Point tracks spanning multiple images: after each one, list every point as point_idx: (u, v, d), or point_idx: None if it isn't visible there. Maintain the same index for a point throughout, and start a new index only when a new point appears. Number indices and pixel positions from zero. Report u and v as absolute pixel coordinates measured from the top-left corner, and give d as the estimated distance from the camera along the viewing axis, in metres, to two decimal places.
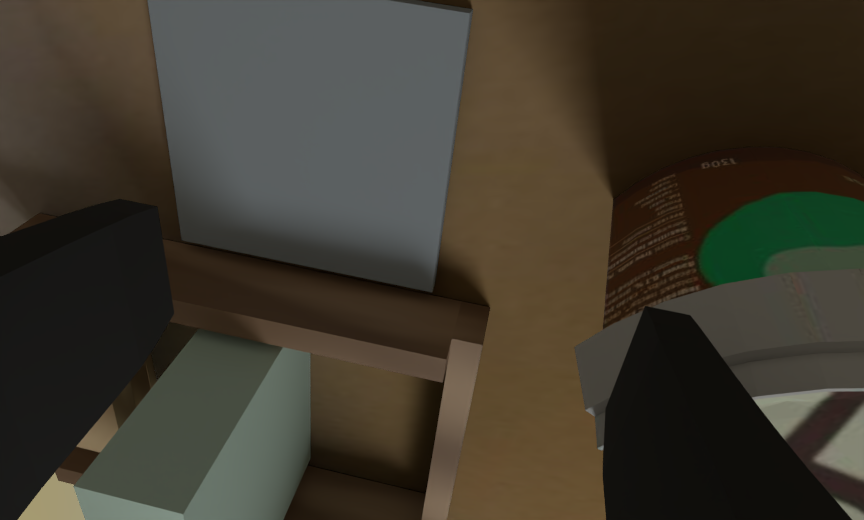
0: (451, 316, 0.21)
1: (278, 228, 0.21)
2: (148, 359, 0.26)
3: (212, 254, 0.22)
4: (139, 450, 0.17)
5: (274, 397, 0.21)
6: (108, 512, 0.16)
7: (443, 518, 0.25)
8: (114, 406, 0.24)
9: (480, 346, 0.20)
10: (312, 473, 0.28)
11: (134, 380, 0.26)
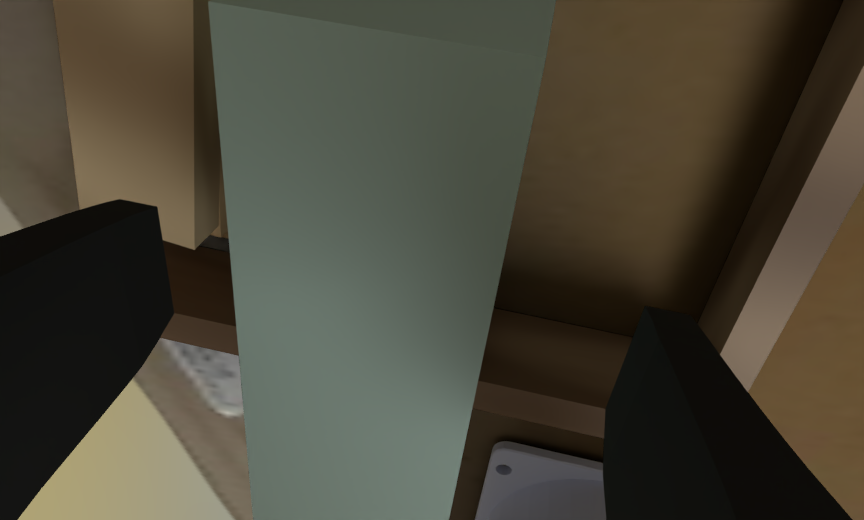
0: None
1: None
2: None
3: None
4: None
5: None
6: (296, 105, 0.06)
7: (757, 363, 0.15)
8: (196, 132, 0.14)
9: None
10: (497, 316, 0.18)
11: None
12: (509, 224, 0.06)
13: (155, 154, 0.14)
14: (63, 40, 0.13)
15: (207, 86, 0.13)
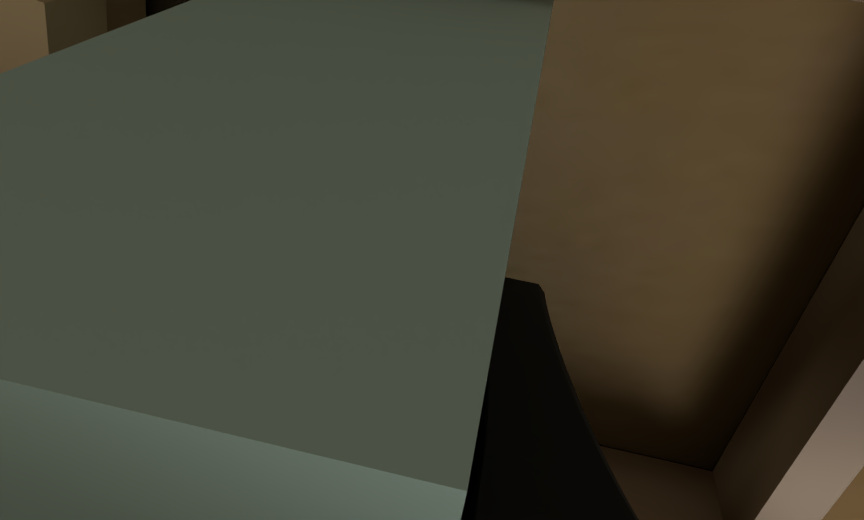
0: None
1: None
2: None
3: None
4: (87, 139, 0.03)
5: None
6: None
7: None
8: None
9: None
10: None
11: None
12: None
13: None
14: None
15: None
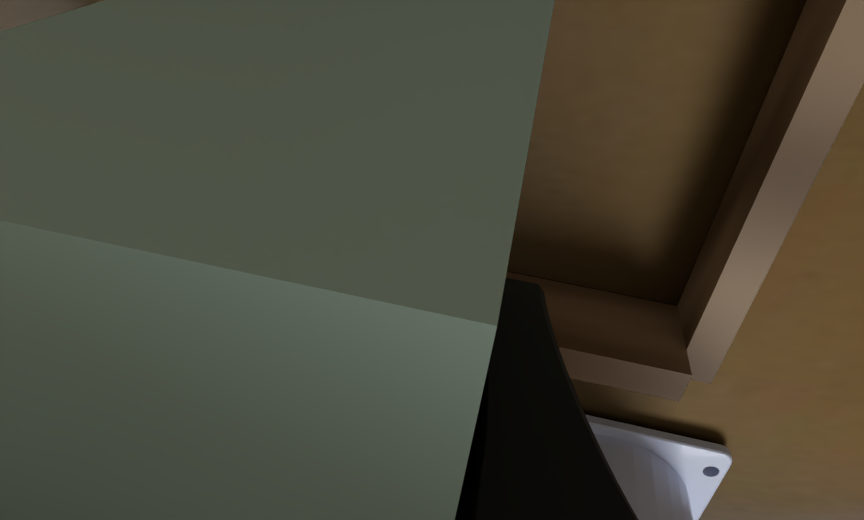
0: None
1: None
2: None
3: None
4: (130, 71, 0.03)
5: None
6: None
7: (740, 313, 0.16)
8: None
9: None
10: None
11: None
12: None
13: None
14: None
15: None
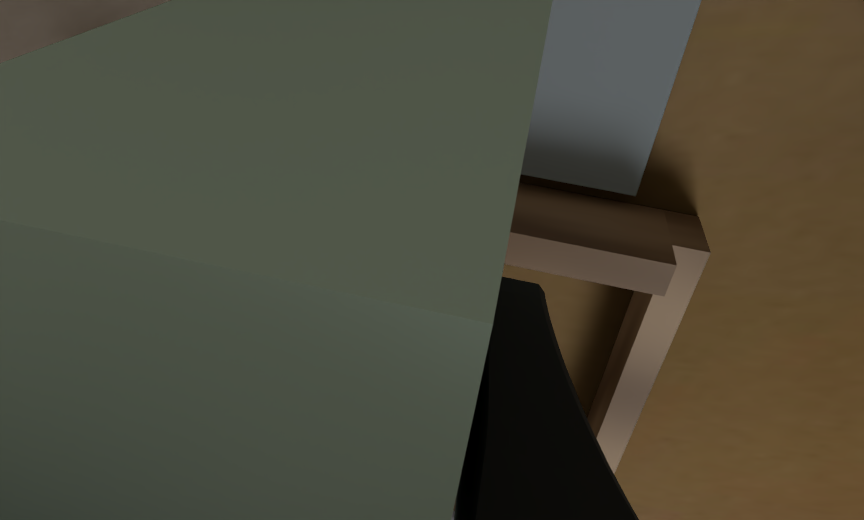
0: (660, 223, 0.18)
1: None
2: None
3: None
4: (157, 88, 0.04)
5: None
6: None
7: None
8: None
9: (707, 254, 0.17)
10: None
11: None
12: None
13: None
14: None
15: None
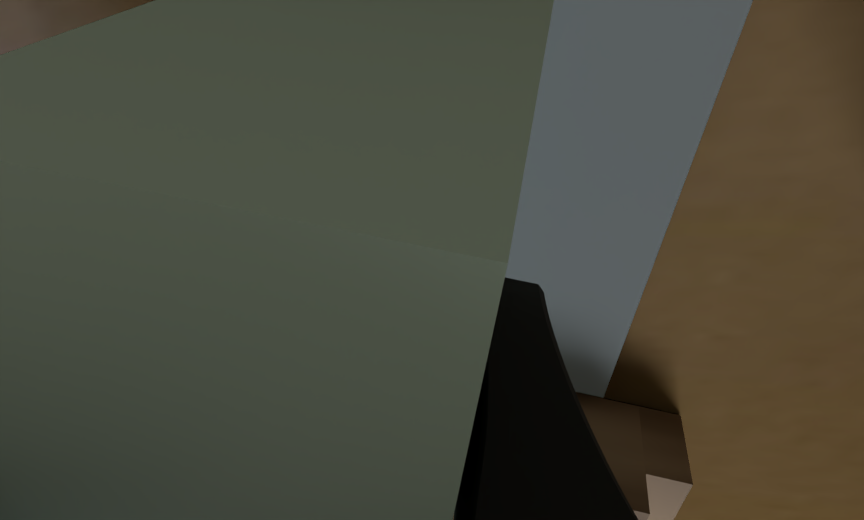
0: (632, 433, 0.14)
1: None
2: None
3: None
4: (187, 64, 0.04)
5: None
6: (30, 310, 0.03)
7: None
8: None
9: (688, 486, 0.13)
10: None
11: None
12: (450, 519, 0.03)
13: None
14: None
15: None
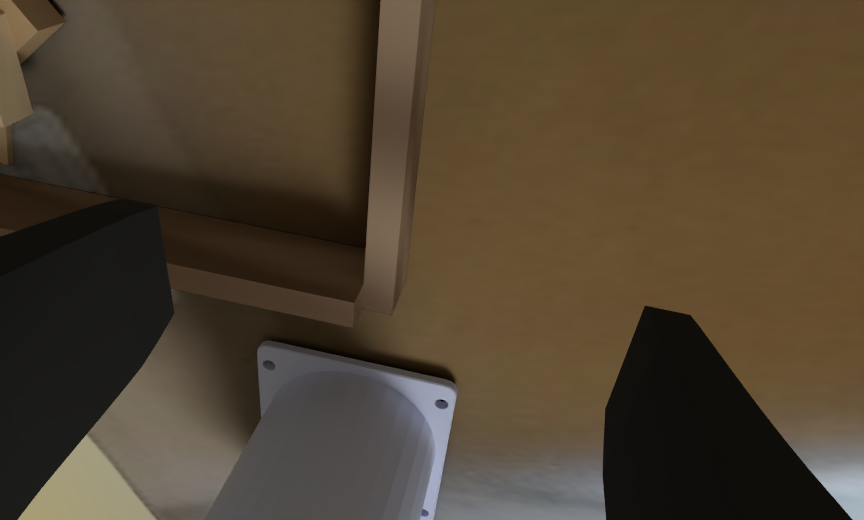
0: None
1: None
2: None
3: None
4: None
5: None
6: None
7: (393, 250, 0.19)
8: None
9: None
10: (231, 227, 0.22)
11: None
12: None
13: None
14: None
15: None
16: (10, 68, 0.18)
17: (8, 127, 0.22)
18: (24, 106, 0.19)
